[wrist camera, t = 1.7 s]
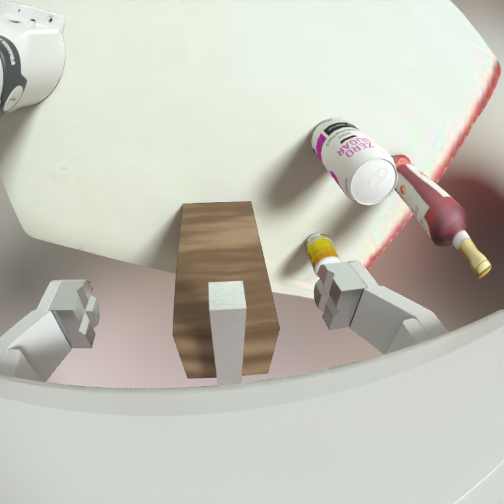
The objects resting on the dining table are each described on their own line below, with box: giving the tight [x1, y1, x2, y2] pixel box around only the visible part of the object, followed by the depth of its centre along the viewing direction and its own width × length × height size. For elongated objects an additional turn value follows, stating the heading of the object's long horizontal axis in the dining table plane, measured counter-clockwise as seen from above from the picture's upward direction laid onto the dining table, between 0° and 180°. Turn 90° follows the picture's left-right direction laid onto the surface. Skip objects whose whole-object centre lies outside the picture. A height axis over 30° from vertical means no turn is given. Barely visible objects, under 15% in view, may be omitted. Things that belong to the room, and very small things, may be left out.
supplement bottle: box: [305, 233, 341, 277], centre depth 55 cm, size 6×6×10 cm
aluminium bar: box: [208, 281, 247, 385], centre depth 31 cm, size 20×3×3 cm, turn 177°
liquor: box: [392, 155, 491, 279], centre depth 38 cm, size 7×7×28 cm
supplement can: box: [311, 118, 398, 205], centre depth 38 cm, size 8×8×15 cm
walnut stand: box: [173, 201, 280, 378], centre depth 44 cm, size 13×12×26 cm
